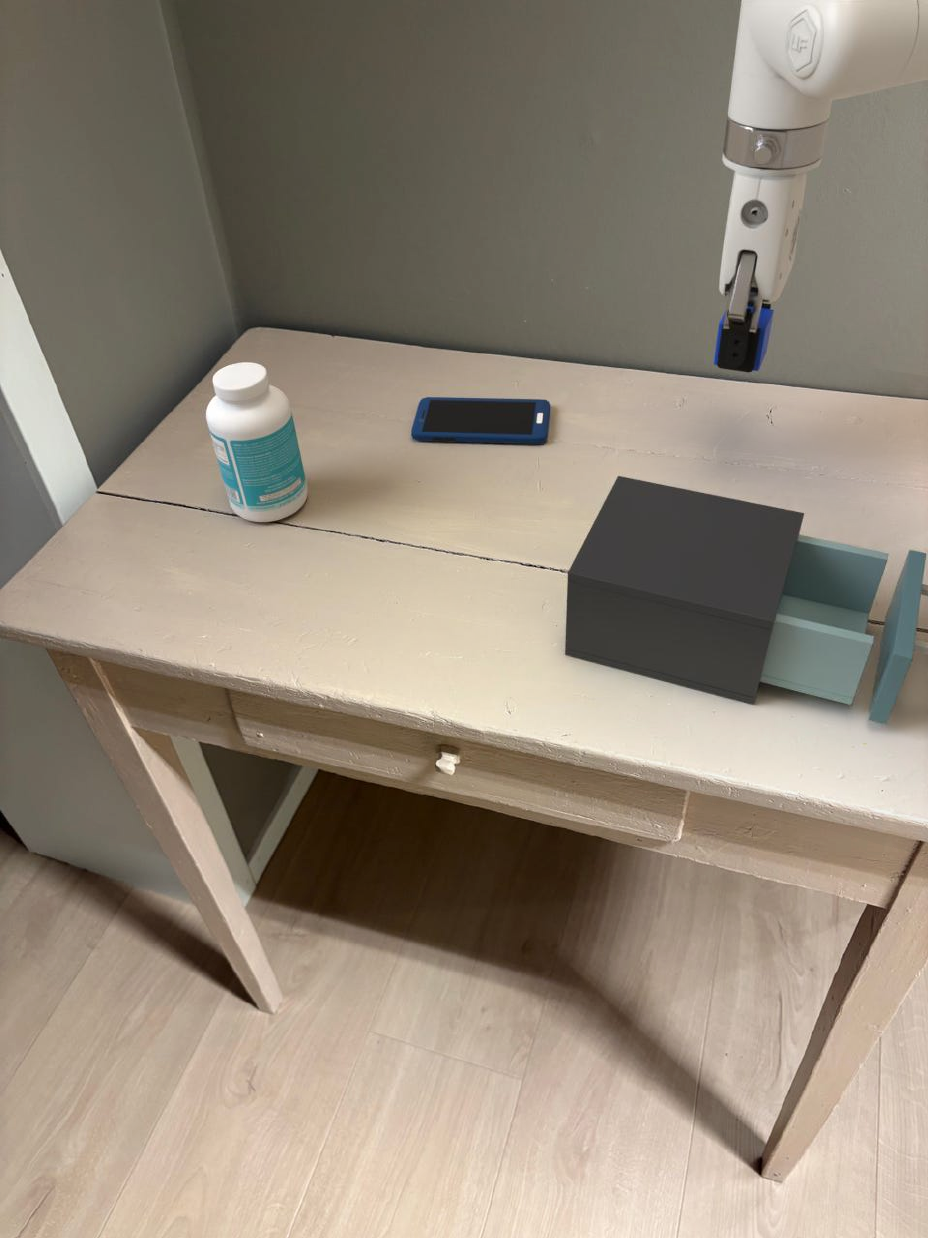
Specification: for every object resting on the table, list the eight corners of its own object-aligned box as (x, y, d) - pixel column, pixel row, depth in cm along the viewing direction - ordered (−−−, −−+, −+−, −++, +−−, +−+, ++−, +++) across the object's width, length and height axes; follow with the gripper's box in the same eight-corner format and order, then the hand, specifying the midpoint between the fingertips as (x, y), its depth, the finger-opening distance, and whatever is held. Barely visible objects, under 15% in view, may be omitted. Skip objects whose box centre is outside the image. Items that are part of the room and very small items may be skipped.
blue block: (766, 350, 88) (774, 309, 85) (758, 371, 85) (765, 329, 82) (722, 344, 89) (728, 303, 86) (713, 364, 86) (718, 323, 84)
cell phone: (547, 444, 96) (547, 438, 95) (409, 441, 97) (409, 434, 97) (551, 405, 101) (551, 398, 100) (420, 402, 103) (420, 396, 102)
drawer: (970, 635, 73) (1000, 567, 69) (962, 745, 66) (995, 678, 61) (728, 579, 79) (740, 514, 74) (695, 675, 72) (706, 609, 67)
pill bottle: (322, 485, 93) (298, 359, 83) (287, 532, 88) (258, 403, 78) (253, 473, 95) (223, 349, 85) (216, 518, 90) (179, 391, 80)
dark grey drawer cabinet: (783, 596, 79) (804, 512, 73) (753, 705, 70) (774, 621, 64) (611, 556, 83) (618, 475, 77) (564, 655, 75) (567, 572, 69)
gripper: (806, 182, 68) (765, 409, 80) (839, 111, 79) (798, 321, 91) (700, 173, 70) (676, 395, 83) (746, 106, 81) (719, 311, 94)
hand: (740, 354), depth 87 cm, fingers closed on blue block, 4 cm apart
